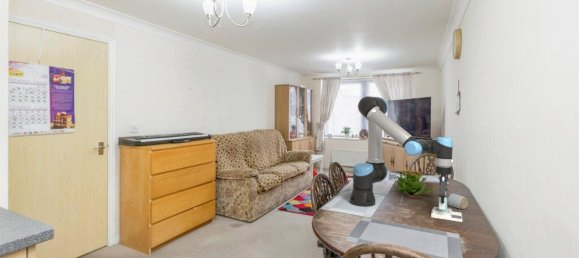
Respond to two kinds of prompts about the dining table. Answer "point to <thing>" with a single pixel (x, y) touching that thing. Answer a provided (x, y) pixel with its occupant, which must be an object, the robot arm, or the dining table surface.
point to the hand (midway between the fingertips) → (442, 205)
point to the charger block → (445, 206)
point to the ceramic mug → (457, 201)
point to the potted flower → (411, 184)
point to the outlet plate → (446, 214)
